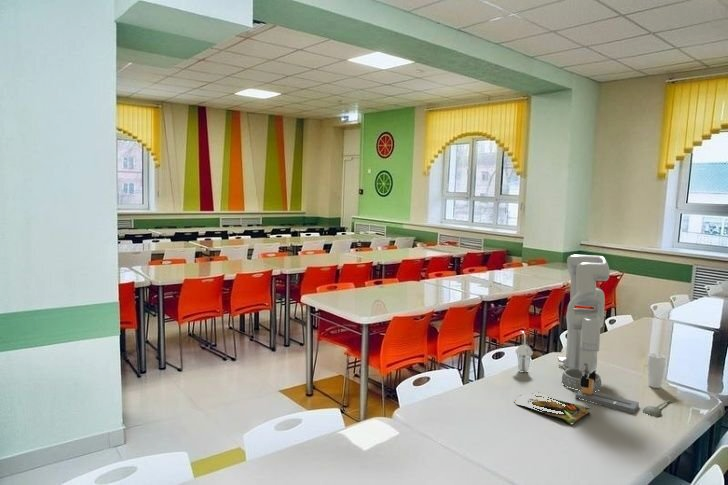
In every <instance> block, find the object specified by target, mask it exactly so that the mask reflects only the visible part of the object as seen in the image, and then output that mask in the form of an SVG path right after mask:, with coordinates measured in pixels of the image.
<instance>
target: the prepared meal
mask: <svg viewBox="0 0 728 485" xmlns="http://www.w3.org/2000/svg"><path fill="white" fill-rule="evenodd" d="M537 392H538V393H540V392H539V391H537ZM521 395H522V394H521ZM521 395H519V396H521ZM535 396H536V395H535ZM536 397H542V396H536ZM549 397H550V396H549ZM549 397H548V398H549ZM543 398H544V397H543ZM552 398H553V397H551V398H550V399H552ZM547 400H549V399H547ZM553 400H556V401H558V402H560V403H562V404H565V405H566V406H565V407H564V406H562V404H559V403H558V404H557V403H556V402H553V401H552V400H551V402H548V401H547V402H546V401H538V400H535V401H533V402H532V404H533V405H536V406H539V407H544V408H547V409H551V410H555V411H561V412H563V413H564V414H559V413H558V414H556V413H552V412H547V411H542V410H543V409H542V410H540V409H537V408H535V409H537V410H539V411H542V412H543V413H545V414H544V415H546V416H550V417H555V418H559V419H563V420H564V421H566V422H567V423H568V422H569V423H574V424H575V422H577V421H578V420H580V419H581V418H583V417H584V416H586V415H589V414H588V413H590V410H591V408H589V407H586V406H583V405H580V404H575V403H570V402H568V401H563V400H559V399H555V398H553ZM533 408H534V407H533ZM543 413H542V414H543ZM569 423H568V424H569Z"/></svg>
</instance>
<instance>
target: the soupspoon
mask: <svg viewBox="0 0 728 485" xmlns="http://www.w3.org/2000/svg"><path fill="white" fill-rule="evenodd" d="M668 403H669V404H672V403H673V401H672V400H671V399H667V400H666V401H663V402H662V403H660V404H658V405H657V406H652V405H651V406H650V405H649V406H645V407H643V409H642V413H643V414H644V413H645V415H646V414H648V415H647V416H649V415H650V416H649V417H653V416H654V418H658V417H659V416H661V414H662V409H660V407H661V406H663V405H665V404H668Z"/></svg>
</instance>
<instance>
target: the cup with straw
mask: <svg viewBox="0 0 728 485" xmlns="http://www.w3.org/2000/svg"><path fill="white" fill-rule="evenodd" d="M520 333H522V335H523V337H524V338H523V344H520V345H519V346H517V348H516V350H515V351H514V352H515V354H516V356H517V357H516V358H517V366H518V371H519V370H520V371H523V372H527V371H528V372H529V369H530V368H529V367H530V363H531V358H532V356H533V354H534V352H533V351H532V349H531V347H530V346H529V345H527V344H526V342H527V340H526V339H527V338H526V337H527V336H526V334H525V332H524V331H523V330H520Z"/></svg>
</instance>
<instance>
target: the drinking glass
mask: <svg viewBox="0 0 728 485" xmlns="http://www.w3.org/2000/svg"><path fill="white" fill-rule="evenodd" d="M665 365H666V357H665V355H663V354H661V353H651V352H650V353H648V358H647V372H648V373H647V374H648V375H647V376H648V378H647V379H648V384H647V385H648V386H649V387H650V388H653V389H660V388H662V384H663V383H662V382H663V378H664V371H665Z"/></svg>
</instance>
